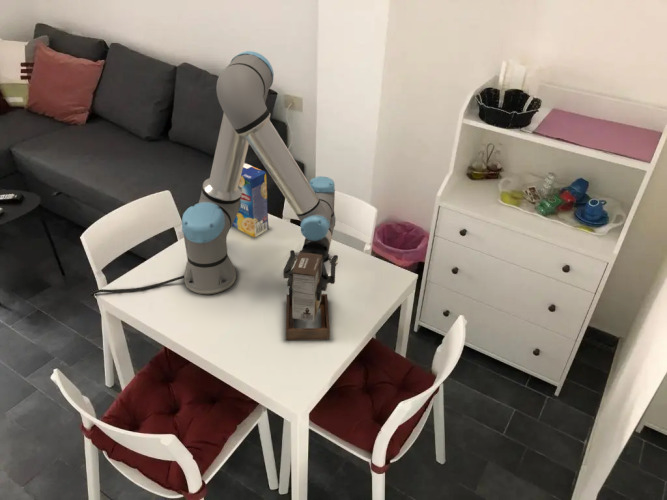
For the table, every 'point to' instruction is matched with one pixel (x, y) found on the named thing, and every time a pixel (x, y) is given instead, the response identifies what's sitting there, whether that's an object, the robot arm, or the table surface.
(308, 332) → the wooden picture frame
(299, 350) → the table surface
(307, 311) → the coffee box
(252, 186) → the beverage box
